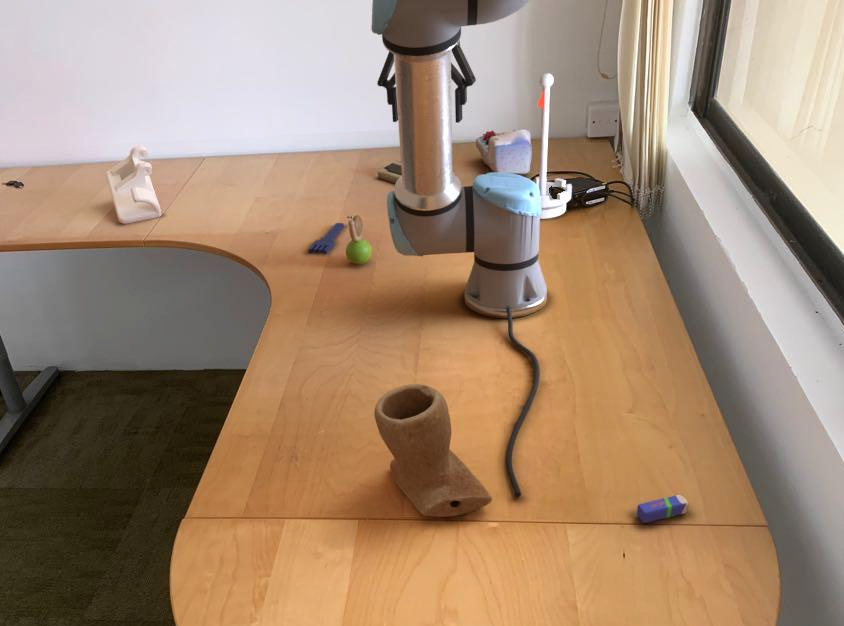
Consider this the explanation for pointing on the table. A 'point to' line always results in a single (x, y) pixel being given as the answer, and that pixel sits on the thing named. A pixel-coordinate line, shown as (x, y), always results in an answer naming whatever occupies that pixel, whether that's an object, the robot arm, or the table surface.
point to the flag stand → (547, 203)
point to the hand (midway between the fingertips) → (427, 120)
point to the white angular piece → (133, 188)
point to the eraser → (662, 508)
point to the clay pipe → (426, 452)
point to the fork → (326, 240)
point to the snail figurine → (357, 242)
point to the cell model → (506, 151)
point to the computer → (391, 172)
